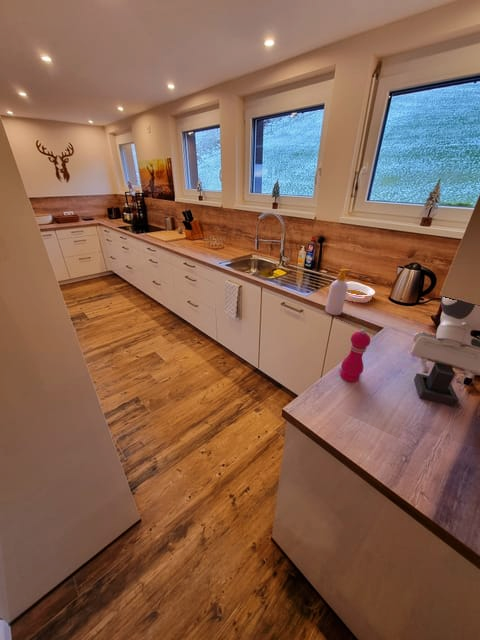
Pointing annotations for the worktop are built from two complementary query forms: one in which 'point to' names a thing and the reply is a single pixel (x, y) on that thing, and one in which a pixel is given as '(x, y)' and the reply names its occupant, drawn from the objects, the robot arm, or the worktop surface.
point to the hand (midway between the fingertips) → (441, 377)
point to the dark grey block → (440, 378)
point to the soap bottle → (337, 294)
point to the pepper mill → (355, 357)
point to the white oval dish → (360, 288)
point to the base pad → (425, 394)
